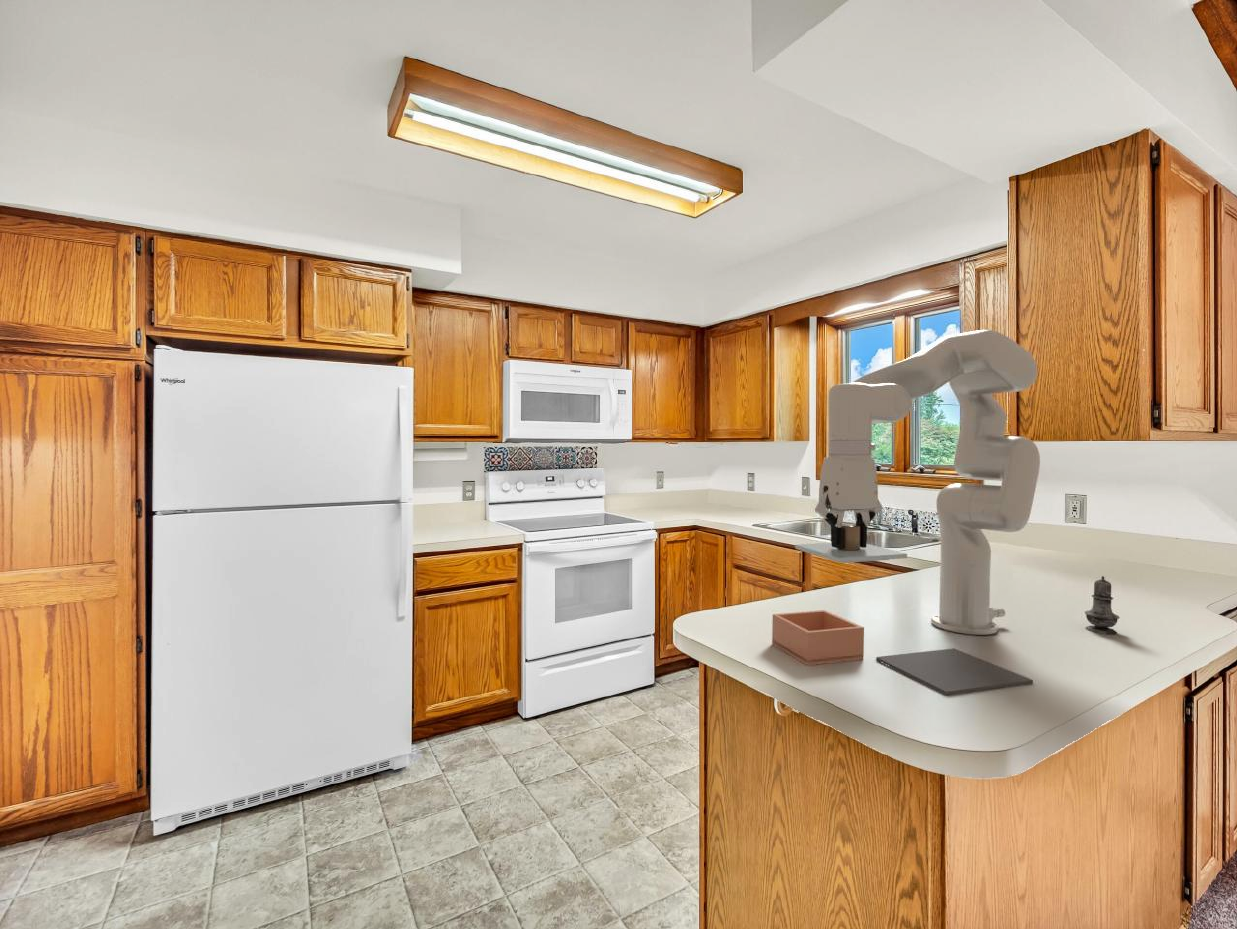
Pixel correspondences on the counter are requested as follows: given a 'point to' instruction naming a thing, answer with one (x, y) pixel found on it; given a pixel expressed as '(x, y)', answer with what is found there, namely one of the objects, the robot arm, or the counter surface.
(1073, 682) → the counter surface
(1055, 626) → the counter surface
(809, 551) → the lid
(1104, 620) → the salt shaker
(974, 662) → the mat
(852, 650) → the open storage tray
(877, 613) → the counter surface
